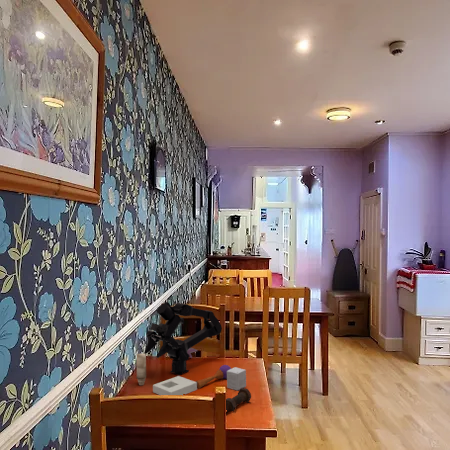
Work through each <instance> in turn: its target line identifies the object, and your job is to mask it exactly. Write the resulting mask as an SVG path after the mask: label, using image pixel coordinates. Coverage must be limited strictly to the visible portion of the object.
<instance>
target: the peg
mask: <svg viewBox="0 0 450 450" xmlns="http://www.w3.org/2000/svg"><path fill="white" fill-rule="evenodd" d="M146 356H147V355H146V353H138V354H136V379H137V383H138V385H139V386H144V385H145V382H146V379H147V357H146Z"/></svg>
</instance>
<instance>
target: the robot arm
mask: <svg viewBox="0 0 450 450" xmlns="http://www.w3.org/2000/svg"><path fill="white" fill-rule="evenodd" d="M156 313H157V314H158V316H160V318H161V319H163V321H165V323H163V322H162V323H160V324H157V323H154V322H151V325H150V328H149V330H148V331H147V332H146V334H145V335H146V338H147V344H146V348H145V350H144V354H149V353H150V351H152V349H154V348H155V347H156V346H157V345H158V342H159V341H160V342H162V345H161V347H160V349H159V351H158V352H157V354H156V358H157V359H158V358H160V357H162V356H163V355H165V354H167V355H168V356H169V359H172V361H171V370H170V371H169V372H170V373H172V374H175V375H177V376H180V375H182V374H186V373H188V372H189V370H188V369H187V361H189V359H190V357H189V356H190V355H189V354H188V353H187V351H188V349H189V348H194V346H196V345H197V344H199V343H201V342H202V341H204V340H205V339H207V338H209V337H215V336H218V335H219V334H221V333H222V331H223V330H222V329H223V327H222V324H221V323H220V320H219V319H218V318H217V317H216V316H215V314H214V312H213V311H211V310H204V309H201V308H195V307H193V306H192V305H190V304H187V303H182V302H176V304H174V305H173V306H172V305H171V304H170V302H169V301H165V302H164V303H162V304H160V305H159V306H158V307H157V308H156ZM181 316H183V317H181ZM191 316H194V317H200V318H203V324H204V325H203V327H202V329H200V330H199V331H197V332H195V333H194V334H192V335H191V336H189V337H187V338H184V340H181V339H179V338H177V339H176V338H174V336H173V335H176V334H177V332H176V330H177V329H178V327H179V325H180V324H182V325H184V324H185V320H184V317H191Z"/></svg>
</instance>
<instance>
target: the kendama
mask: <svg viewBox="0 0 450 450" xmlns="http://www.w3.org/2000/svg"><path fill="white" fill-rule="evenodd" d="M230 369H232V368H231V366H230V365H227V364H223V365H221V366H220V367H219V369H217V371H216V372H215V374H214V375H212V376H209V377H205V378H203V379H199V380H196V381H194V382H197V390H199V389H201V388H202V387H204V386H206V385H207V384H209V383H210V382H212V381H214V380H215V379H217V380H218V379H220V380H222V379H225V380H227V371H228V370H230Z"/></svg>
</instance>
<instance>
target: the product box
mask: <svg viewBox="0 0 450 450" xmlns="http://www.w3.org/2000/svg"><path fill="white" fill-rule="evenodd" d="M226 387H227V388H228V389H231V390H233V391H238V392H239V390H240V389H241V388H246V387H247V370H246V369H243V368H240V367H237V366H235V367H232V368H231V369H230V370H228V371H227V379H226Z"/></svg>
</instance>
